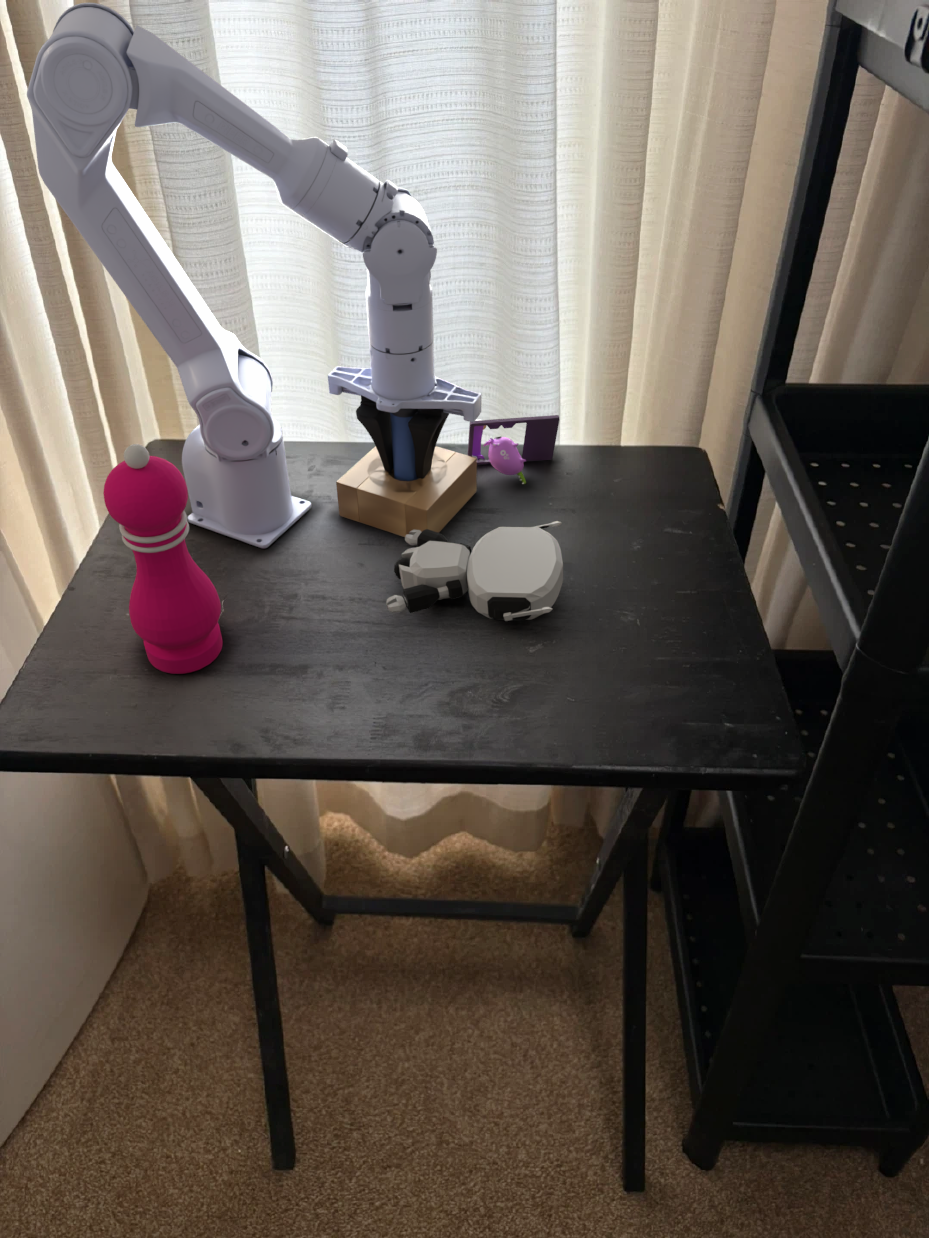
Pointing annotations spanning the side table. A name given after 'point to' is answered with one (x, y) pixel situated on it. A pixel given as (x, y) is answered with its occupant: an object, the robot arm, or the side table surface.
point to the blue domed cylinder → (403, 445)
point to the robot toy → (483, 572)
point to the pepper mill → (163, 564)
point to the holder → (407, 493)
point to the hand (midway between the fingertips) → (407, 469)
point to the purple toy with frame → (504, 449)
